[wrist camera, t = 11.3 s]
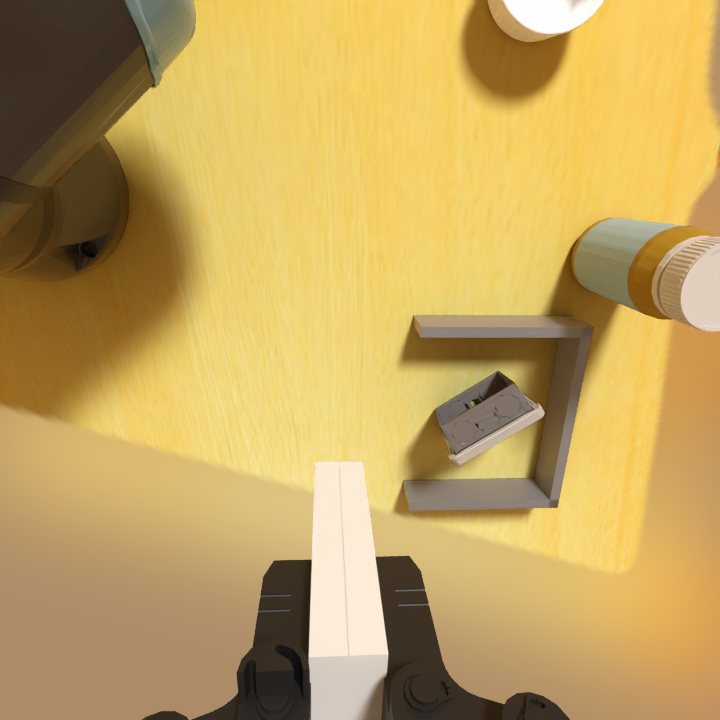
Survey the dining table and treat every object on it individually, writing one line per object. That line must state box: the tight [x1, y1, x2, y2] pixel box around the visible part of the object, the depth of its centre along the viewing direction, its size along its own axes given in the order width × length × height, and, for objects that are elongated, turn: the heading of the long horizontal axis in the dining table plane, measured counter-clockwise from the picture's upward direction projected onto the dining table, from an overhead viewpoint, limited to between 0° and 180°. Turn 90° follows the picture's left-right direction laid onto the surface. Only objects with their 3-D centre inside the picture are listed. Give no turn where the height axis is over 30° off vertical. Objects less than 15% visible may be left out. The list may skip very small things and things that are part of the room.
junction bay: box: [403, 315, 593, 511], centre depth 49 cm, size 20×16×4 cm
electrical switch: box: [435, 371, 545, 466], centre depth 46 cm, size 9×5×9 cm, turn 123°
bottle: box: [571, 218, 720, 331], centre depth 39 cm, size 7×7×15 cm
